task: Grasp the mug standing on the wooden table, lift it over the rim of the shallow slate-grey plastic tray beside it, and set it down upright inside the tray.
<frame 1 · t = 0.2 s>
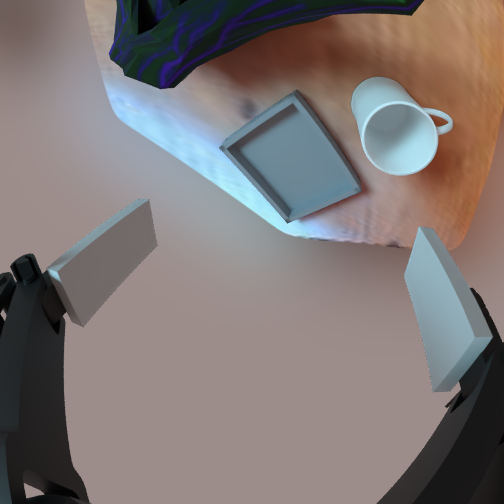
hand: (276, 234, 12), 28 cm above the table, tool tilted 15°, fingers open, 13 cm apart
slate tray: (293, 157, 39), on the table
mug: (393, 105, 29), on the table
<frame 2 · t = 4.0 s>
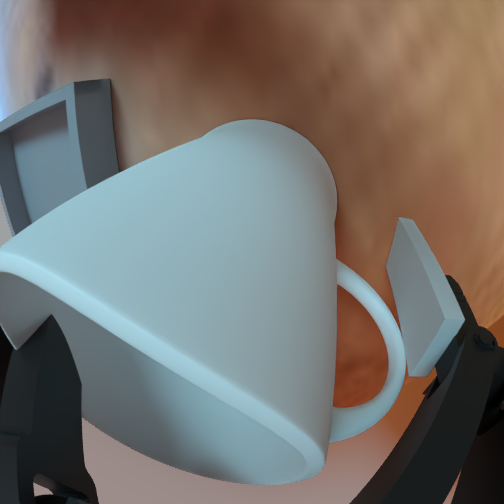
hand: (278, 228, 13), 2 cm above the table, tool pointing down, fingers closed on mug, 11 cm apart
slate tray: (64, 202, 18), on the table
mug: (282, 213, 14), on the table, touching gripper
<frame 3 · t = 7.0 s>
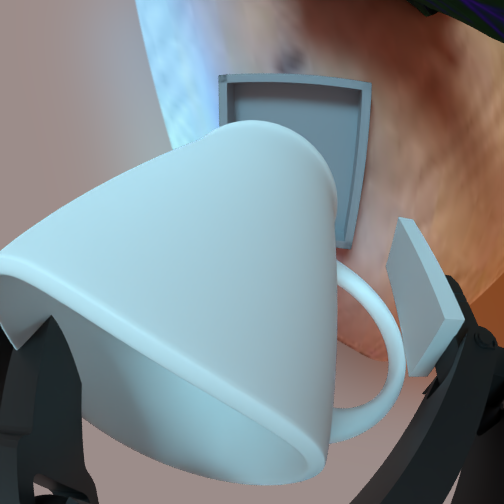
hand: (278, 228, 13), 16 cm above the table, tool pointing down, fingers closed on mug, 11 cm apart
slate tray: (294, 156, 26), on the table
mug: (282, 214, 14), point 15 cm above the table, touching gripper
when the fingers open (5 cm above the table, at t = 10.1 s): mug drops 3 cm, resting on slate tray.
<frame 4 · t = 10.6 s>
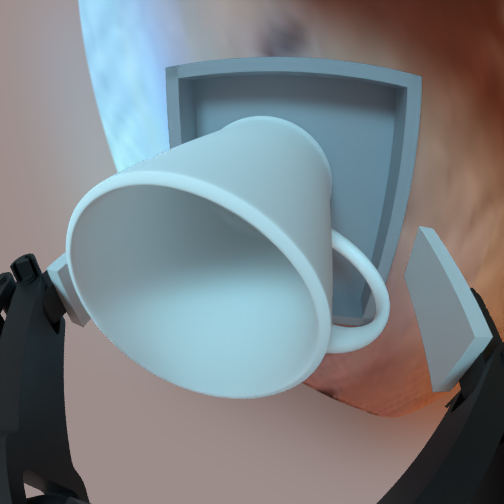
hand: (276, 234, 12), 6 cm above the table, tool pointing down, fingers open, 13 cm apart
slate tray: (291, 191, 18), on the table
mug: (286, 194, 17), point 1 cm above the table, touching slate tray
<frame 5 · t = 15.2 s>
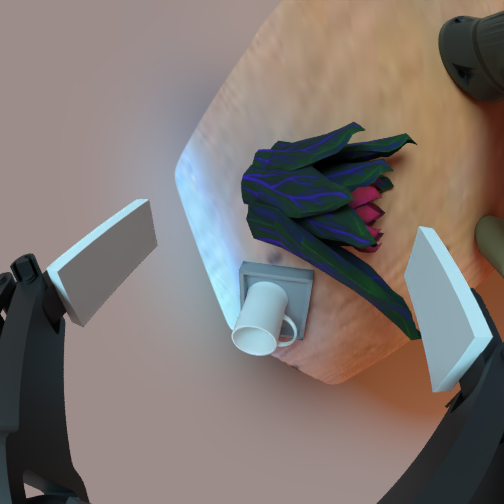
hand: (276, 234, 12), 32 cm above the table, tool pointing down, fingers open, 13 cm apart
slate tray: (276, 298, 56), on the table
decorative plant: (349, 186, 41), on the table
squeeze bottle: (485, 228, 37), on the table
mug: (274, 300, 56), point 1 cm above the table, touching slate tray
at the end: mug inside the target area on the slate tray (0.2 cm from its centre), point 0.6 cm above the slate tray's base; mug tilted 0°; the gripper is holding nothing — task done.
